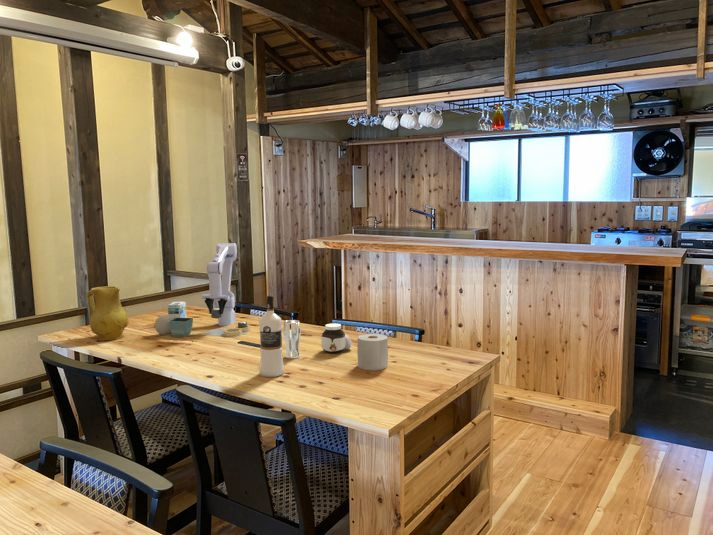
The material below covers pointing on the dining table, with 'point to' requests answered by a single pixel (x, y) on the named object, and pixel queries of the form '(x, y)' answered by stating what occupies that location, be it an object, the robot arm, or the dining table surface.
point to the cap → (215, 313)
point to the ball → (163, 324)
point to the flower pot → (181, 326)
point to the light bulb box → (177, 310)
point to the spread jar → (335, 339)
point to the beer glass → (292, 338)
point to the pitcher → (106, 313)
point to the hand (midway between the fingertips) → (216, 313)
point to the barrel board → (218, 333)
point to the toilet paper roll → (372, 351)
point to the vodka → (271, 342)
